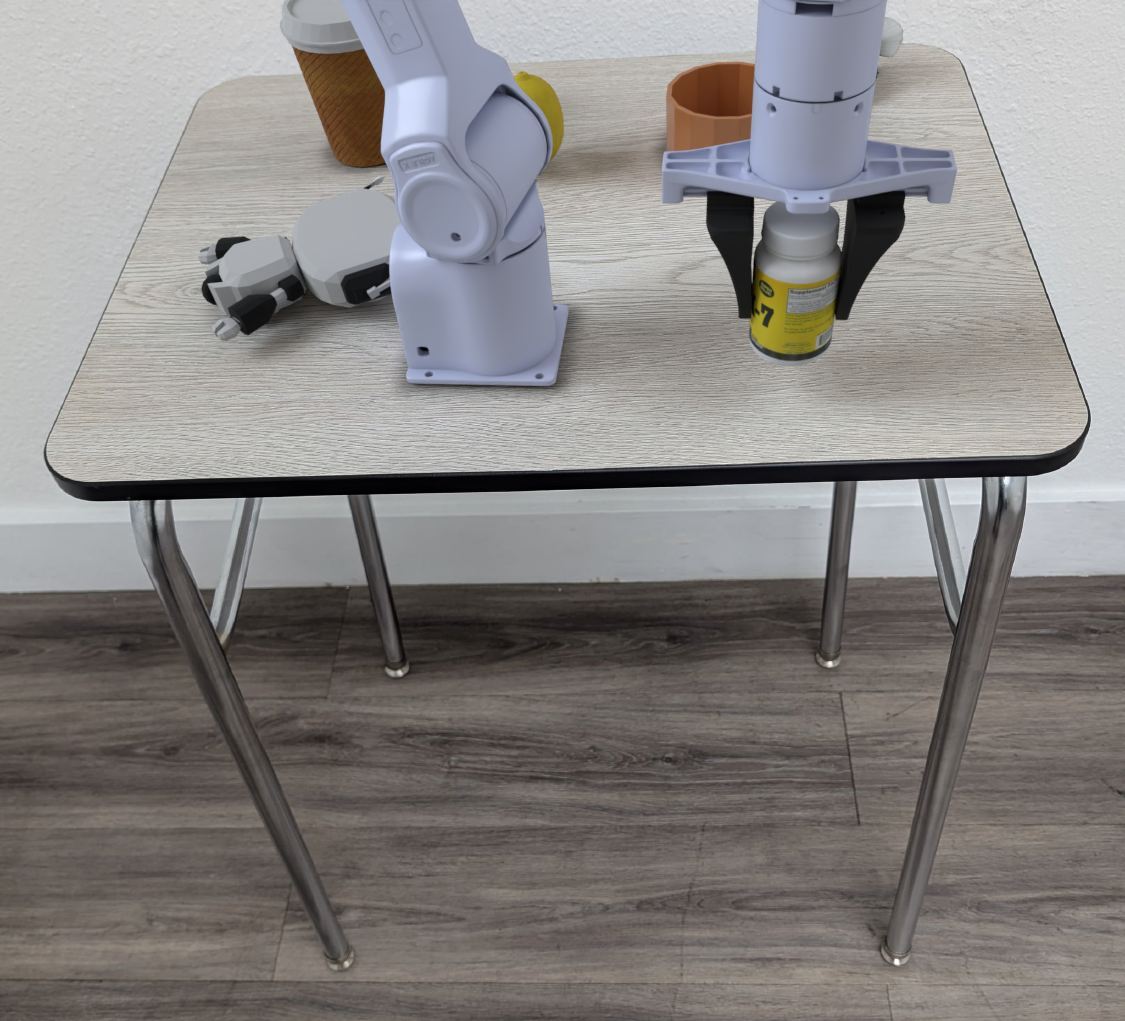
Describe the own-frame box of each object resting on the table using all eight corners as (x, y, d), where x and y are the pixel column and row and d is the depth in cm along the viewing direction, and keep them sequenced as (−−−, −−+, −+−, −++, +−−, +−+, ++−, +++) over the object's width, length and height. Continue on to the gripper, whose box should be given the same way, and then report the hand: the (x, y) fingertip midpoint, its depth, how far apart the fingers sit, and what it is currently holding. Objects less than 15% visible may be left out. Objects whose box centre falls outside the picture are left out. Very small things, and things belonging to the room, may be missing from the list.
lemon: (533, 147, 89) (523, 49, 83) (581, 168, 86) (575, 68, 80) (482, 175, 87) (468, 76, 81) (531, 198, 84) (520, 97, 78)
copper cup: (664, 181, 84) (663, 119, 80) (670, 122, 90) (669, 62, 87) (787, 181, 83) (792, 118, 79) (784, 121, 89) (789, 60, 85)
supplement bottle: (739, 323, 66) (746, 198, 60) (816, 313, 66) (832, 186, 60) (759, 374, 62) (769, 247, 56) (841, 363, 63) (860, 234, 57)
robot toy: (228, 379, 73) (444, 308, 74) (202, 325, 69) (428, 252, 71) (208, 280, 81) (403, 218, 83) (183, 227, 77) (387, 164, 79)
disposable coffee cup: (293, 171, 89) (252, 22, 81) (345, 115, 95) (311, -29, 87) (400, 183, 87) (369, 30, 78) (446, 125, 93) (422, -23, 84)
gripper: (657, 117, 51) (659, 351, 61) (984, 114, 49) (932, 355, 59) (665, 49, 56) (666, 276, 65) (964, 44, 54) (918, 278, 64)
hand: (791, 309), depth 62 cm, fingers closed on supplement bottle, 5 cm apart
